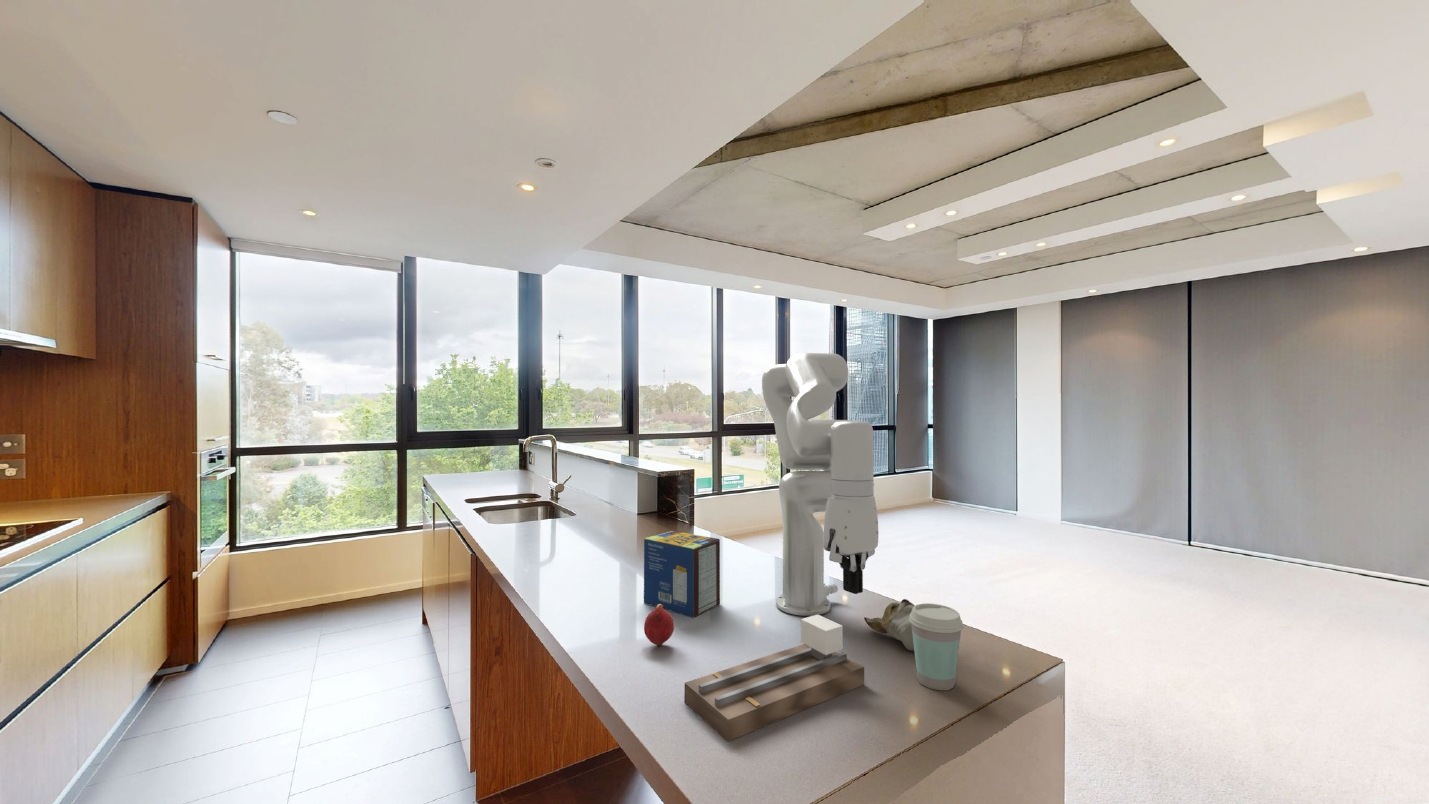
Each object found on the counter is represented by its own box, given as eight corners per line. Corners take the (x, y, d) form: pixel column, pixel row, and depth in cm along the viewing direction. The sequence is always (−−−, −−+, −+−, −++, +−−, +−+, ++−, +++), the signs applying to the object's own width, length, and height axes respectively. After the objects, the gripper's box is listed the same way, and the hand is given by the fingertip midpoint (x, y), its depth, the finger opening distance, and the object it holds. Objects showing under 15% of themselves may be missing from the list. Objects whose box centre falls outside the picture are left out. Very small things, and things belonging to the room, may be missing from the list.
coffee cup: (960, 674, 94) (960, 605, 95) (965, 699, 86) (966, 624, 86) (908, 666, 97) (908, 599, 97) (909, 689, 89) (909, 616, 89)
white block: (817, 647, 97) (817, 614, 97) (842, 660, 92) (842, 625, 92) (800, 653, 95) (801, 619, 95) (825, 667, 90) (825, 631, 90)
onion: (668, 653, 102) (669, 611, 102) (639, 650, 103) (640, 608, 103) (677, 640, 107) (677, 600, 107) (649, 638, 109) (649, 598, 109)
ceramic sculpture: (901, 612, 100) (860, 590, 114) (902, 660, 99) (861, 632, 114) (951, 607, 103) (904, 587, 117) (952, 654, 102) (905, 628, 116)
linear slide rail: (813, 656, 101) (813, 635, 101) (864, 684, 91) (864, 660, 91) (684, 701, 85) (684, 676, 85) (728, 741, 75) (728, 712, 75)
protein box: (670, 591, 136) (671, 529, 136) (720, 604, 127) (721, 538, 127) (642, 603, 128) (642, 537, 128) (693, 618, 119) (693, 548, 119)
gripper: (863, 484, 105) (864, 579, 104) (807, 489, 97) (807, 593, 96) (895, 488, 99) (897, 589, 98) (838, 494, 90) (839, 605, 90)
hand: (852, 591), depth 97 cm, fingers closed
